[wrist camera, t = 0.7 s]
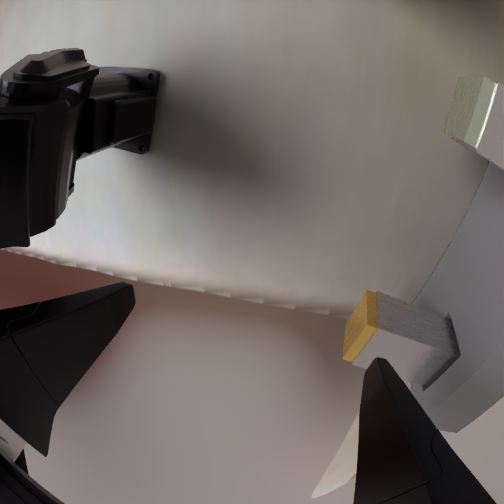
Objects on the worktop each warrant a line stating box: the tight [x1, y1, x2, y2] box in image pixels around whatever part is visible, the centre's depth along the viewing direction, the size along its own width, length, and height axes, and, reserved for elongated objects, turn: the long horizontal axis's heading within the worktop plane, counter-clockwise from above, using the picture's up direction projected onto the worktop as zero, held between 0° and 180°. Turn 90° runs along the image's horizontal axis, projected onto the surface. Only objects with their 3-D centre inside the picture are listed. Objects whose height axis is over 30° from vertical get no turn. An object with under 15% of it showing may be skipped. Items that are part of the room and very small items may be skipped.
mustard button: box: [342, 290, 461, 387], centre depth 15 cm, size 8×3×3 cm, turn 76°
